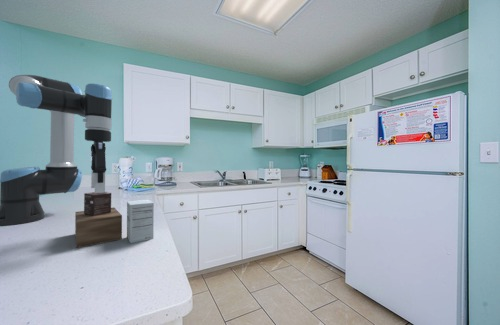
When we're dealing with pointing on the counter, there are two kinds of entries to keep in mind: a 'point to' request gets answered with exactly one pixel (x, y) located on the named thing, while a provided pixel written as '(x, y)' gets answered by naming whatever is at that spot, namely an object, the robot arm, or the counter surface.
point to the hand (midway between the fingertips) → (97, 190)
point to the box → (97, 203)
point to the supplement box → (140, 220)
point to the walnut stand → (97, 228)
